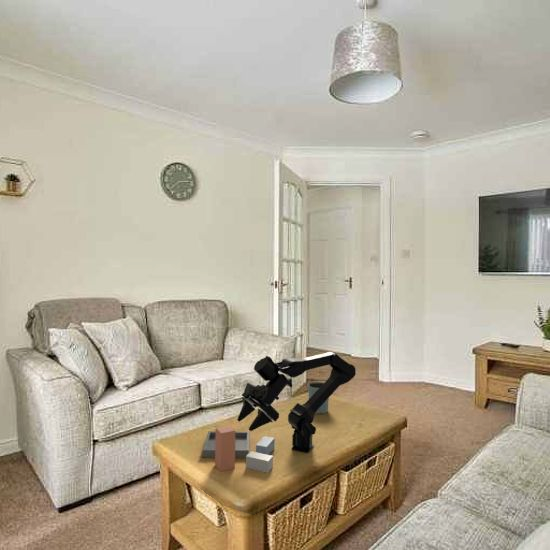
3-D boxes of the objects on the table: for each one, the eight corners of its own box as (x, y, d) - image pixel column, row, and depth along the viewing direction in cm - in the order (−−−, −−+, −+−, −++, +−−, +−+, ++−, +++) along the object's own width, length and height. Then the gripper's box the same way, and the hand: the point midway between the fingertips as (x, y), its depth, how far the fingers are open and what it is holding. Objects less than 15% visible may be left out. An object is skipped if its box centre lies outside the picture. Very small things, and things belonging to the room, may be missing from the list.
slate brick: (264, 446, 149) (264, 436, 149) (274, 448, 148) (274, 437, 148) (255, 456, 142) (256, 444, 141) (266, 458, 140) (266, 446, 140)
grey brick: (272, 467, 134) (273, 455, 134) (267, 473, 130) (268, 461, 130) (251, 462, 137) (251, 451, 137) (245, 468, 133) (245, 456, 133)
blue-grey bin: (323, 416, 181) (323, 389, 181) (303, 411, 186) (303, 385, 186) (332, 409, 189) (333, 384, 189) (313, 405, 195) (314, 380, 195)
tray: (249, 438, 156) (249, 431, 156) (248, 457, 140) (248, 450, 140) (208, 438, 155) (208, 431, 155) (202, 457, 139) (202, 450, 139)
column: (228, 461, 137) (229, 425, 137) (234, 468, 133) (235, 430, 132) (215, 464, 134) (215, 427, 134) (220, 471, 130) (221, 433, 130)
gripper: (247, 368, 147) (218, 402, 142) (271, 381, 131) (239, 420, 125) (265, 387, 151) (238, 421, 146) (291, 402, 135) (261, 441, 129)
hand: (243, 425), depth 136 cm, fingers open, 9 cm apart
